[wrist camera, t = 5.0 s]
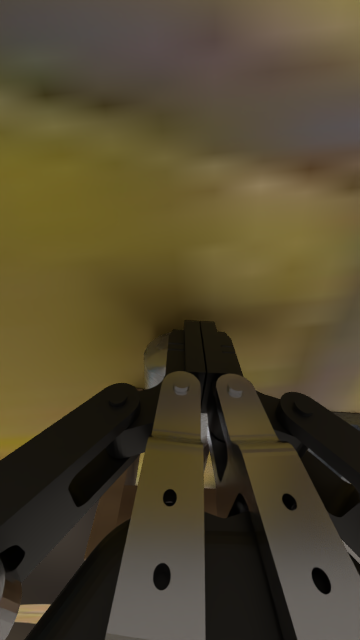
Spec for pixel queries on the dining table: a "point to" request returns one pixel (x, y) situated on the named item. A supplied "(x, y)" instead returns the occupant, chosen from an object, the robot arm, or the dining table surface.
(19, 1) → the dining table surface
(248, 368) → the dining table surface
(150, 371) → the axle
